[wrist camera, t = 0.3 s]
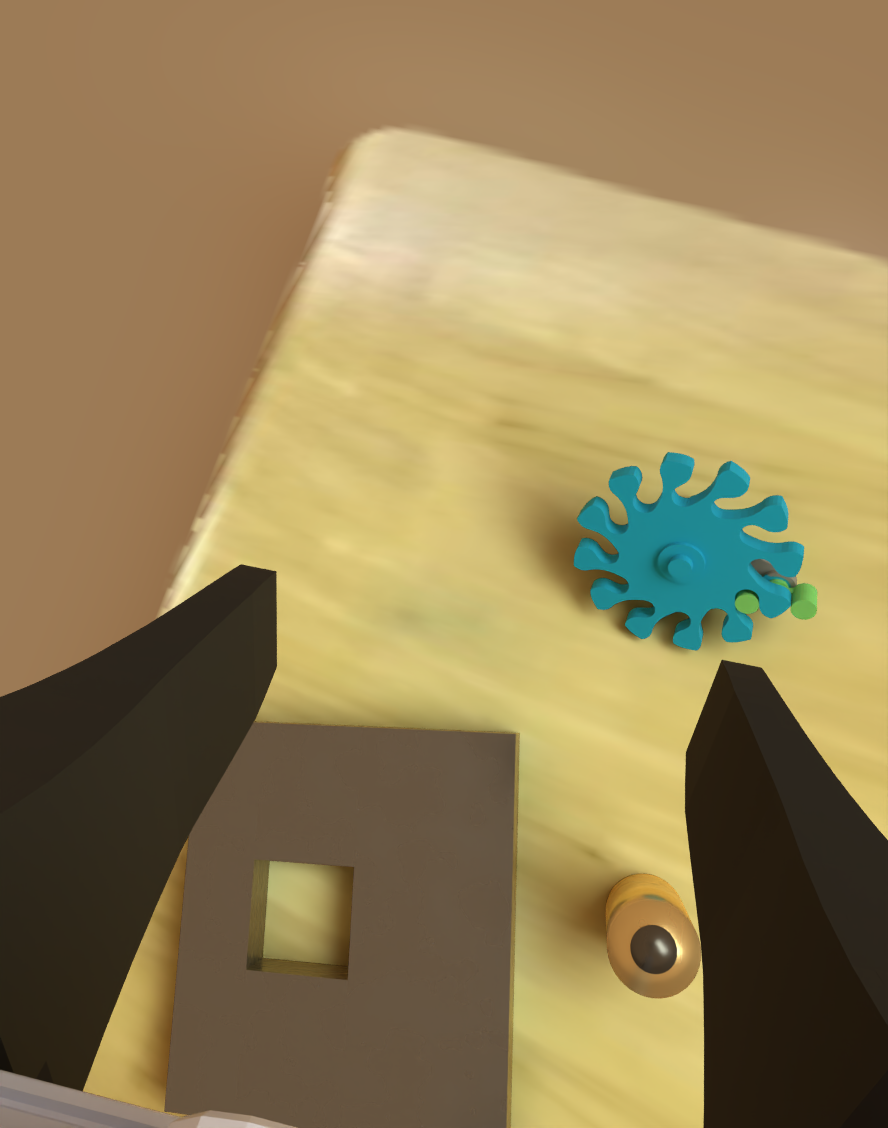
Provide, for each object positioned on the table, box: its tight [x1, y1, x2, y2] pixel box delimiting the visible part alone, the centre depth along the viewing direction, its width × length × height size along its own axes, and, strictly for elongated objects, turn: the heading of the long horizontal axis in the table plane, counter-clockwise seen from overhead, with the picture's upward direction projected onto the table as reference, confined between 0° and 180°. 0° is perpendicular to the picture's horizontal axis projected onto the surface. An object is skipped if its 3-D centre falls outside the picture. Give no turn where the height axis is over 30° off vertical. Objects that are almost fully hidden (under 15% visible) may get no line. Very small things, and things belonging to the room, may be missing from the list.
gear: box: [574, 452, 817, 650], centre depth 39 cm, size 11×6×10 cm
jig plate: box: [164, 721, 520, 1128], centre depth 40 cm, size 18×16×2 cm
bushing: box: [605, 874, 701, 998], centre depth 36 cm, size 4×4×6 cm
